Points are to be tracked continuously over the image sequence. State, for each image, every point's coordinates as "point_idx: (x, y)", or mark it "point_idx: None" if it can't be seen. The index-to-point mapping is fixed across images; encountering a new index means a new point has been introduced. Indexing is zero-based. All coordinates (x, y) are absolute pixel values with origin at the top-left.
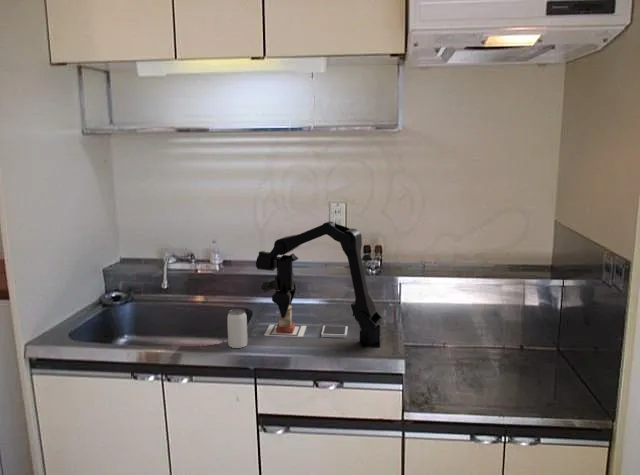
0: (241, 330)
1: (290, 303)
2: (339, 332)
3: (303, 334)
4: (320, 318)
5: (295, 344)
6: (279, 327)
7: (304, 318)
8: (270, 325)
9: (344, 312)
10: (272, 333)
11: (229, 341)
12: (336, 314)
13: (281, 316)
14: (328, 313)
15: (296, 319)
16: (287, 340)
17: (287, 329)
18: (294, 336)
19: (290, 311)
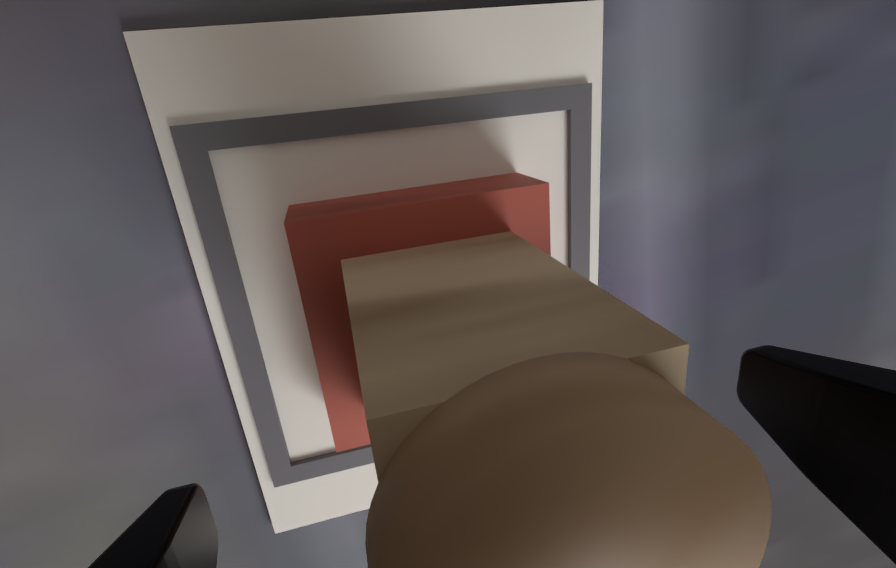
0: None
1: (870, 529)
2: None
3: (344, 513)
4: (790, 467)
5: (12, 548)
6: (312, 272)
7: (804, 342)
8: (569, 19)
9: (889, 561)
10: (252, 155)
11: None
12: (860, 533)
13: (144, 517)
14: None
15: (785, 277)
16: (103, 422)
17: (323, 379)
18: (252, 455)
19: None
